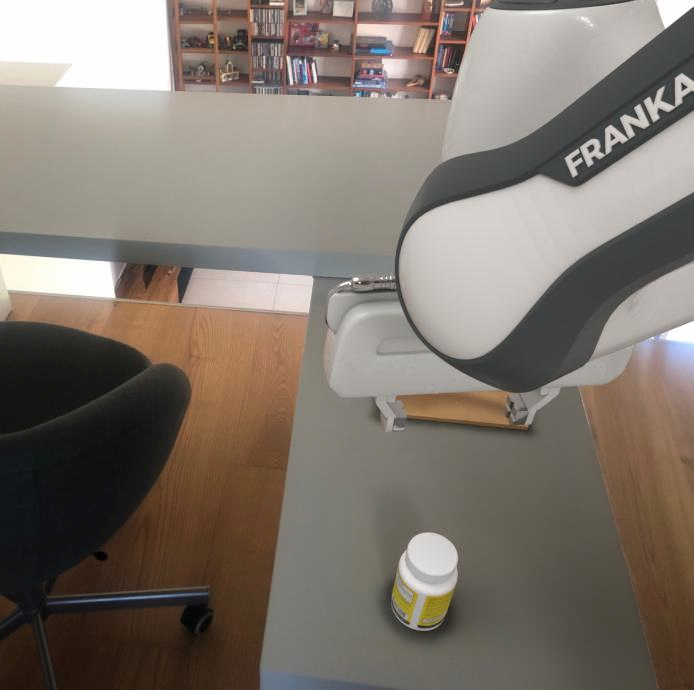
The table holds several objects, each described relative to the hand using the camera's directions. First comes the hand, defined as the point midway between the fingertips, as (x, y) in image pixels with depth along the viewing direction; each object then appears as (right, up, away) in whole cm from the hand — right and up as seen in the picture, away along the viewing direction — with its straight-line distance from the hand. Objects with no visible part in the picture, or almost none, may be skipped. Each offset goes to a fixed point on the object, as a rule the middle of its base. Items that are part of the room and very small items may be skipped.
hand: (454, 422), depth 52 cm
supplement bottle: (0, -17, +9) cm, 20 cm away
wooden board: (+9, +2, +32) cm, 33 cm away
